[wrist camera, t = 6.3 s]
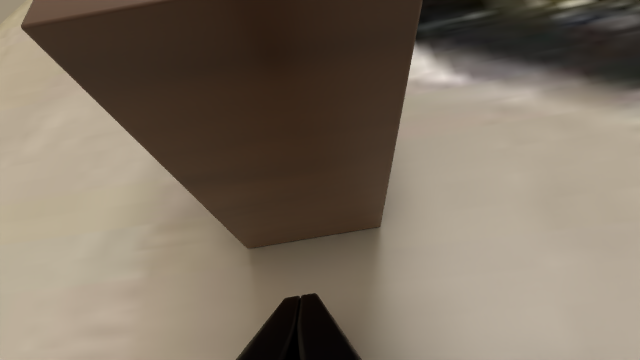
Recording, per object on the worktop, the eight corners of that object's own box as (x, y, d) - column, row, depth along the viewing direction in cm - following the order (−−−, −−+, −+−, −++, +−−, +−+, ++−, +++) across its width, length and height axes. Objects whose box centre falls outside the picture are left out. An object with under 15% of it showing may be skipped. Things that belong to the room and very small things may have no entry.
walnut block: (380, 226, 17) (433, -50, 5) (247, 249, 17) (17, 27, 5) (352, 108, 21) (346, -199, 9) (243, 127, 21) (105, -152, 9)
